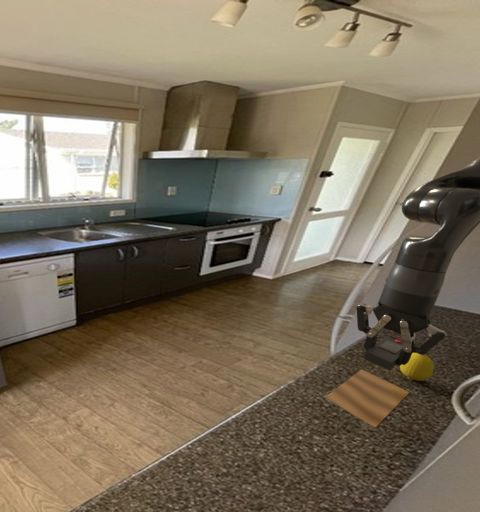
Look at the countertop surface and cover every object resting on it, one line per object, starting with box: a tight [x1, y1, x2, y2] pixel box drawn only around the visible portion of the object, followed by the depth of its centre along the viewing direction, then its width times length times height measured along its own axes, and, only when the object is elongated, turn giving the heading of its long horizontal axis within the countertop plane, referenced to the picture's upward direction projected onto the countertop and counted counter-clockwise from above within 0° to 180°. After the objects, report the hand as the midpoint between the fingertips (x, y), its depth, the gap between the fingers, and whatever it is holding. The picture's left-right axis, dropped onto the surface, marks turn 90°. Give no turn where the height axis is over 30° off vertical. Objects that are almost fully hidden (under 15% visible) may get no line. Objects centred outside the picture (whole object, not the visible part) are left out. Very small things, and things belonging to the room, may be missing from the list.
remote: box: [363, 333, 403, 371], centre depth 64 cm, size 14×4×2 cm, turn 120°
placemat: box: [324, 368, 410, 429], centre depth 67 cm, size 20×9×1 cm, turn 119°
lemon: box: [399, 353, 435, 382], centre depth 71 cm, size 6×6×8 cm
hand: (383, 357), depth 63 cm, fingers closed on remote, 4 cm apart
